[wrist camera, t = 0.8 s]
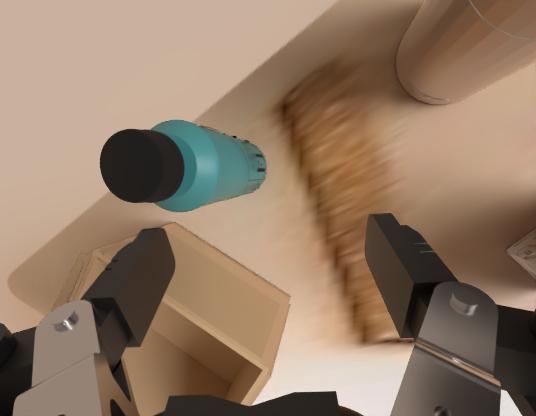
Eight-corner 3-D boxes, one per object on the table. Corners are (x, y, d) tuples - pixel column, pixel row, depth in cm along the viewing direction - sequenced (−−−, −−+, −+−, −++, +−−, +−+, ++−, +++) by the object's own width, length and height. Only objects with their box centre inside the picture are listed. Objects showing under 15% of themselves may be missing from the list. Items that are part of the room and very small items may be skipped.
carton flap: (87, 254, 23) (81, 252, 23) (-13, 466, 11) (-30, 467, 10) (37, 376, 27) (31, 376, 27) (-85, 650, 14) (-99, 654, 14)
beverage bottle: (281, 176, 32) (212, 184, 13) (237, 204, 34) (118, 250, 15) (252, 129, 32) (139, 69, 13) (209, 161, 34) (53, 148, 15)
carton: (175, 219, 36) (94, 245, 23) (295, 295, 34) (276, 368, 21) (129, 314, 40) (38, 381, 27) (234, 388, 38) (188, 497, 25)
